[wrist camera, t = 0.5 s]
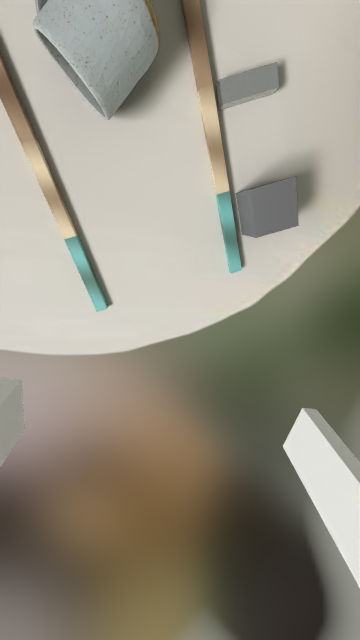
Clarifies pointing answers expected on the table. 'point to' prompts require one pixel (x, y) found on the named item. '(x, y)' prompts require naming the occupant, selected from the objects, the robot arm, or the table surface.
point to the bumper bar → (247, 86)
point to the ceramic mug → (100, 45)
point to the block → (268, 208)
